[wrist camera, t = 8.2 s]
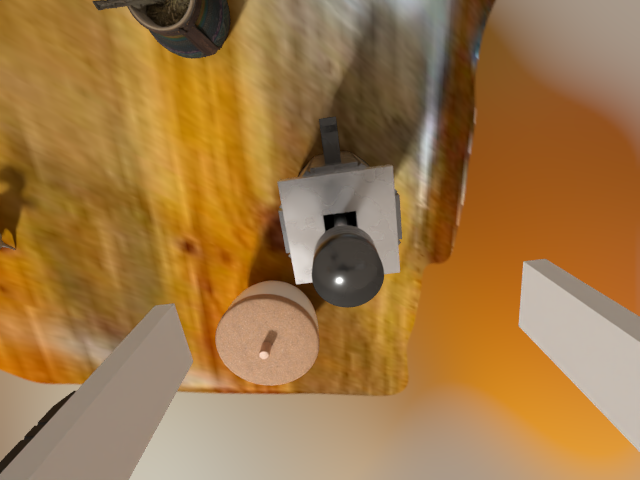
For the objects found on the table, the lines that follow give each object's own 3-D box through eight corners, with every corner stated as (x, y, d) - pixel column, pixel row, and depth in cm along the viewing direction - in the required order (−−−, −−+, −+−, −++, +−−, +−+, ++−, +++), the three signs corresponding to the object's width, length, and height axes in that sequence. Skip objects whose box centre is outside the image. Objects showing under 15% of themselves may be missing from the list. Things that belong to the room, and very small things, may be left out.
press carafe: (283, 127, 34) (258, 127, 22) (372, 113, 33) (398, 106, 21) (302, 238, 38) (289, 292, 26) (381, 228, 37) (408, 278, 25)
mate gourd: (253, 32, 31) (220, -6, 22) (194, 82, 33) (139, 66, 23) (204, -44, 29) (144, -123, 20) (144, 12, 31) (62, -36, 21)
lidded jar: (247, 347, 43) (227, 404, 34) (224, 274, 40) (194, 317, 31) (327, 334, 42) (328, 390, 33) (310, 259, 39) (305, 298, 30)
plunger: (306, 175, 33) (282, 229, 16) (361, 168, 32) (400, 214, 15) (314, 228, 35) (301, 329, 17) (367, 221, 34) (407, 317, 17)
